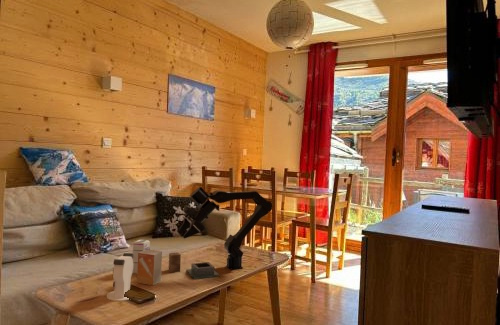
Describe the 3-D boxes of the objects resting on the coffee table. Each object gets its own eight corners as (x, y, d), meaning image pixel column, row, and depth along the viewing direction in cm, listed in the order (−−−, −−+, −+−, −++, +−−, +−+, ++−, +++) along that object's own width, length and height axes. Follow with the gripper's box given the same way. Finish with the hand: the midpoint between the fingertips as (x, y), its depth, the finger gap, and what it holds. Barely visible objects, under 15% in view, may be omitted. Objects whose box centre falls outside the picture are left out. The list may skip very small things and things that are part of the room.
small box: (136, 283, 154) (137, 252, 154) (145, 278, 160) (146, 249, 160) (153, 285, 152) (154, 254, 152) (161, 281, 158) (162, 251, 158)
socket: (210, 268, 178) (210, 260, 178) (219, 276, 167) (219, 267, 167) (186, 271, 173) (186, 262, 172) (193, 279, 162) (194, 270, 162)
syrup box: (143, 274, 166) (144, 242, 166) (131, 273, 167) (132, 241, 167) (149, 270, 171) (150, 240, 171) (138, 269, 172) (139, 238, 172)
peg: (177, 268, 176) (178, 252, 176) (180, 271, 172) (180, 254, 172) (168, 269, 174) (169, 253, 174) (170, 272, 170) (171, 255, 170)
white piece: (114, 288, 147) (115, 251, 147) (142, 290, 147) (143, 252, 147) (101, 300, 135) (102, 259, 135) (131, 301, 135) (133, 261, 135)
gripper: (188, 196, 181) (165, 219, 177) (199, 203, 164) (174, 229, 160) (202, 211, 185) (180, 234, 181) (215, 219, 168) (190, 245, 164)
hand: (181, 235), depth 171 cm, fingers open, 9 cm apart
